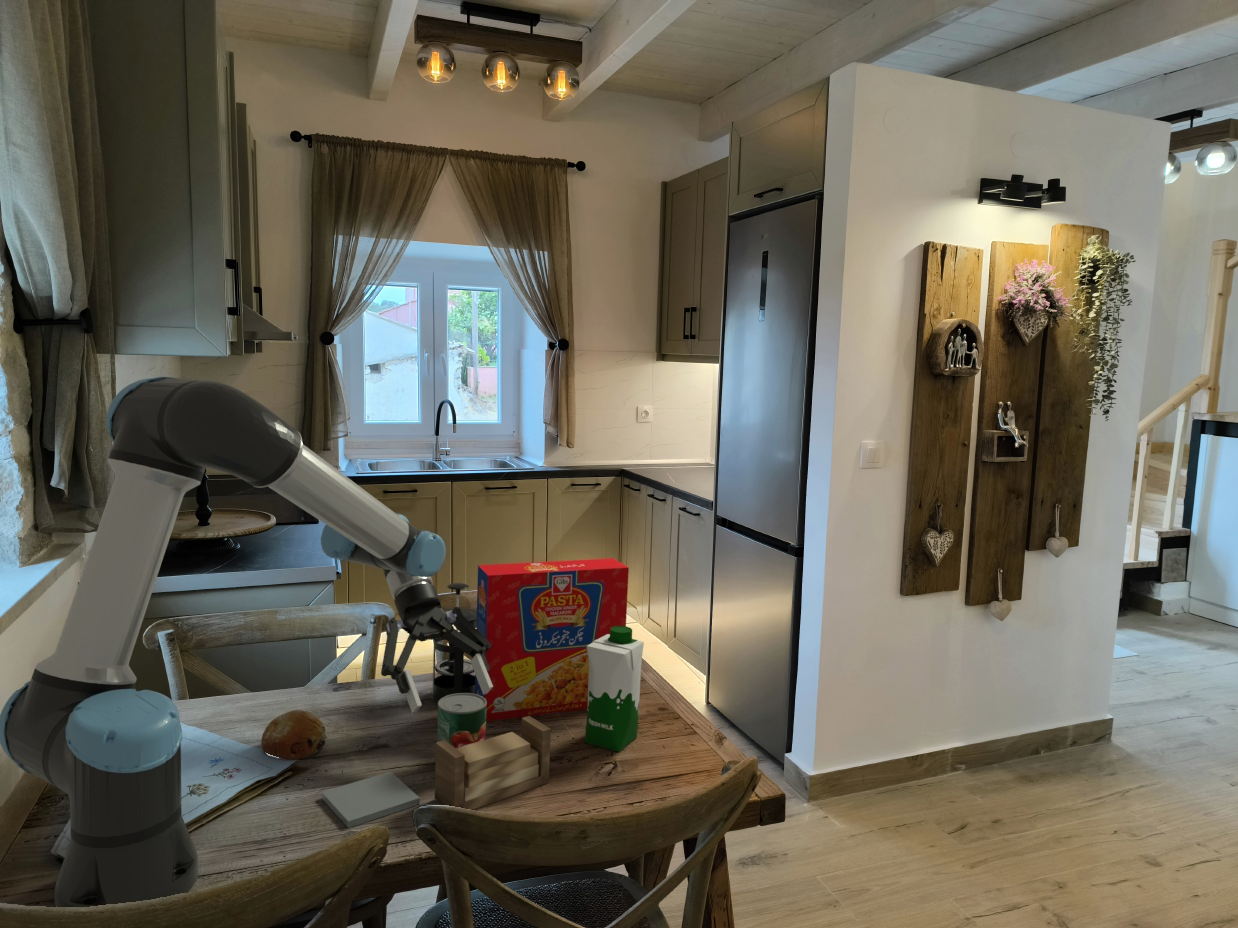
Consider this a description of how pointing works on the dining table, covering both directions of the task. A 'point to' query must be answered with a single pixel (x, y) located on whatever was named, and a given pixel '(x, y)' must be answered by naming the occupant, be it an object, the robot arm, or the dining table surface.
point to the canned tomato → (462, 719)
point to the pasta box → (545, 631)
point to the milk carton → (613, 689)
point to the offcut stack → (497, 764)
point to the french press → (453, 661)
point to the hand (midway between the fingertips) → (453, 699)
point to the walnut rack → (452, 791)
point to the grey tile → (370, 799)
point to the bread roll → (294, 735)
